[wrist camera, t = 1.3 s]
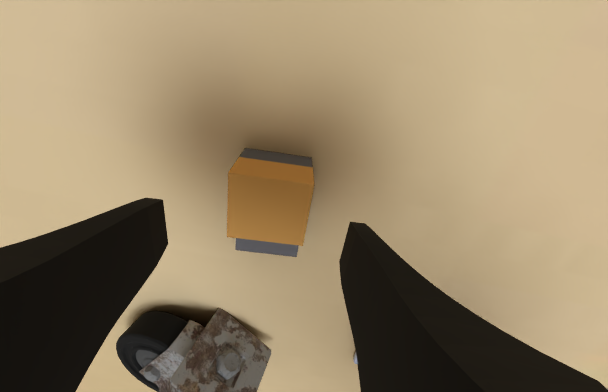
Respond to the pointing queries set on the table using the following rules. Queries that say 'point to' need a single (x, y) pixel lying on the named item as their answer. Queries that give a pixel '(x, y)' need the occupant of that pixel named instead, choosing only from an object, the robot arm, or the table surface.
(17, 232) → the table surface
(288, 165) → the block
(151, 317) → the caster wheel
